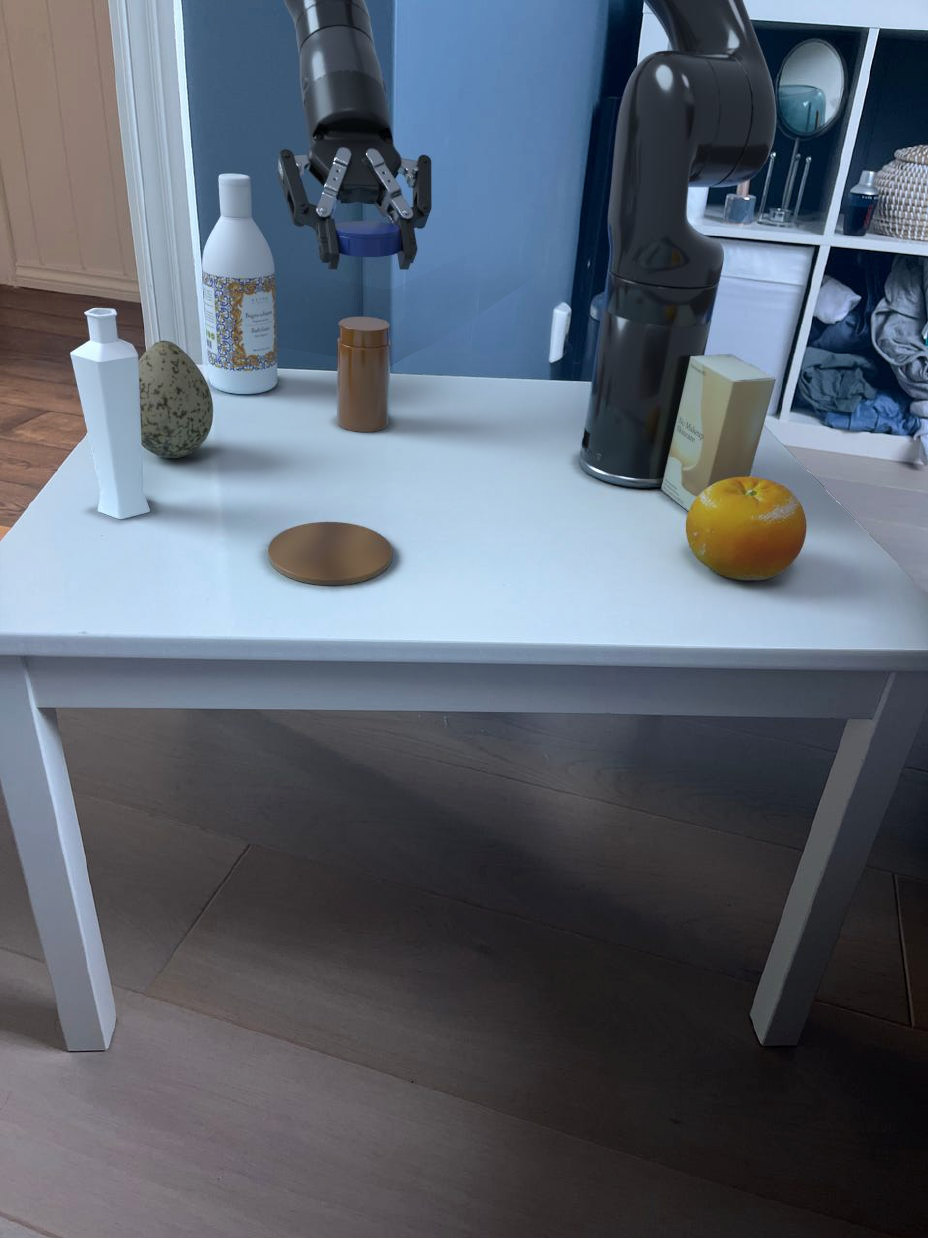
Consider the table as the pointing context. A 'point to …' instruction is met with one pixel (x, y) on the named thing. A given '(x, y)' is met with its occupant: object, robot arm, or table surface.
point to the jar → (363, 374)
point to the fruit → (746, 528)
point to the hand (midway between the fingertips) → (370, 263)
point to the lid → (368, 238)
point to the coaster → (330, 553)
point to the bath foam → (239, 296)
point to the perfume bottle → (112, 414)
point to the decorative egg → (172, 402)
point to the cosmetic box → (716, 425)
